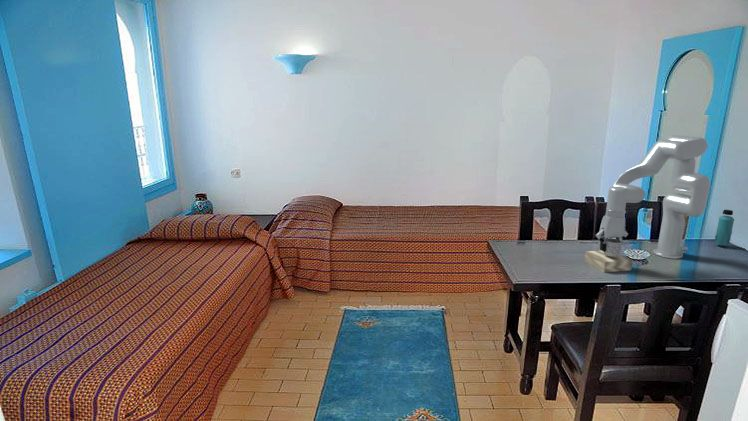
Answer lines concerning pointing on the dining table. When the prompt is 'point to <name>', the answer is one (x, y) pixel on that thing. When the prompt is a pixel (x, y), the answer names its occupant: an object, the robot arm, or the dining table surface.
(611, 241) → the mug
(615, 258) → the base block
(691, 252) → the dining table surface
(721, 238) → the beverage bottle
